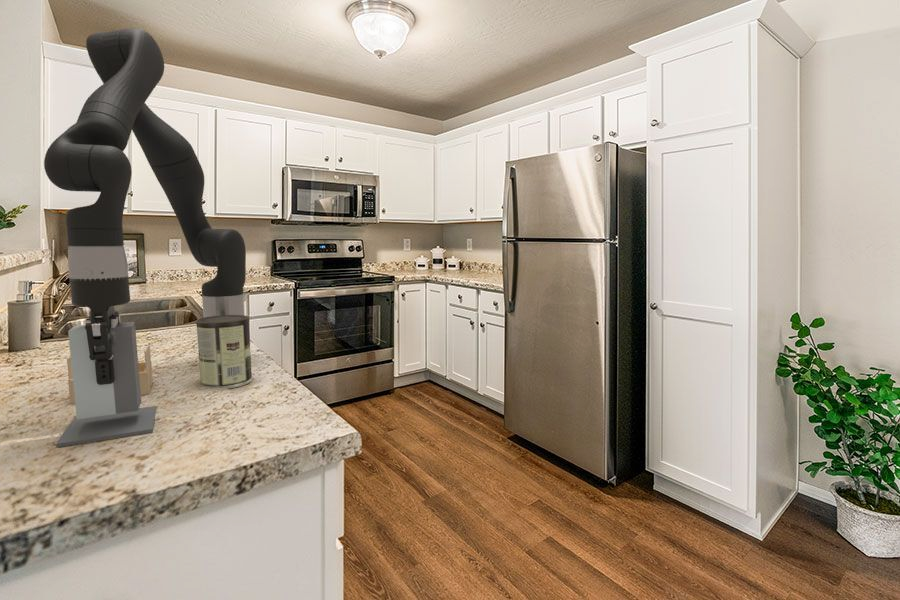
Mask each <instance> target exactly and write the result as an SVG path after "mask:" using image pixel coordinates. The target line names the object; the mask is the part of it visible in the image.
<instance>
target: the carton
mask: <svg viewBox="0 0 900 600" xmlns="http://www.w3.org/2000/svg"><path fill="white" fill-rule="evenodd" d="M150 345H151V344H150V343H147V345H146V347H145V349H144V353H143V354H144V361H142V362H138V367H139V379H140V392H141V396H146V395H150V392H151V388H152V386H153V381H154V380H153V368H152V360H151V359H152V358H151V357H152V356H151V346H150ZM66 365H67V373H68V374H67V375H68V380H67V382H68V384H67V385H68V392H69V393H68V395H69V404H70V405H73V404H75V396H74V386H73V375H72V365H71V355H69V356H68V357H67V358H66Z"/></svg>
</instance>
